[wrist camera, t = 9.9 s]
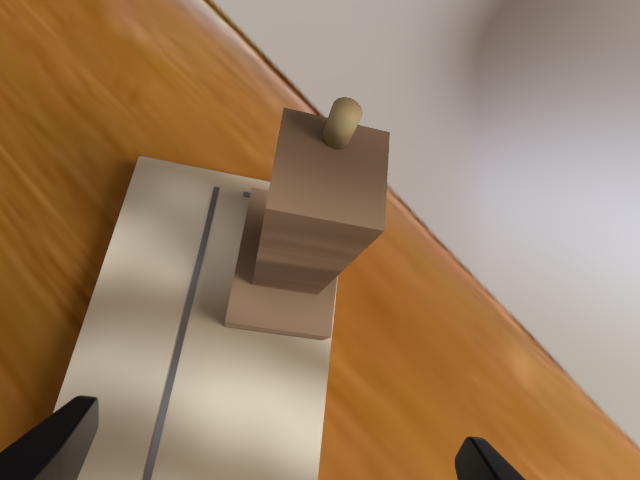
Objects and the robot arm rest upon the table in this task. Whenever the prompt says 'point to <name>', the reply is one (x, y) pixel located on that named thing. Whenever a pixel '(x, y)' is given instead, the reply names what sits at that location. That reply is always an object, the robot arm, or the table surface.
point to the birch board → (190, 346)
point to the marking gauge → (309, 222)
